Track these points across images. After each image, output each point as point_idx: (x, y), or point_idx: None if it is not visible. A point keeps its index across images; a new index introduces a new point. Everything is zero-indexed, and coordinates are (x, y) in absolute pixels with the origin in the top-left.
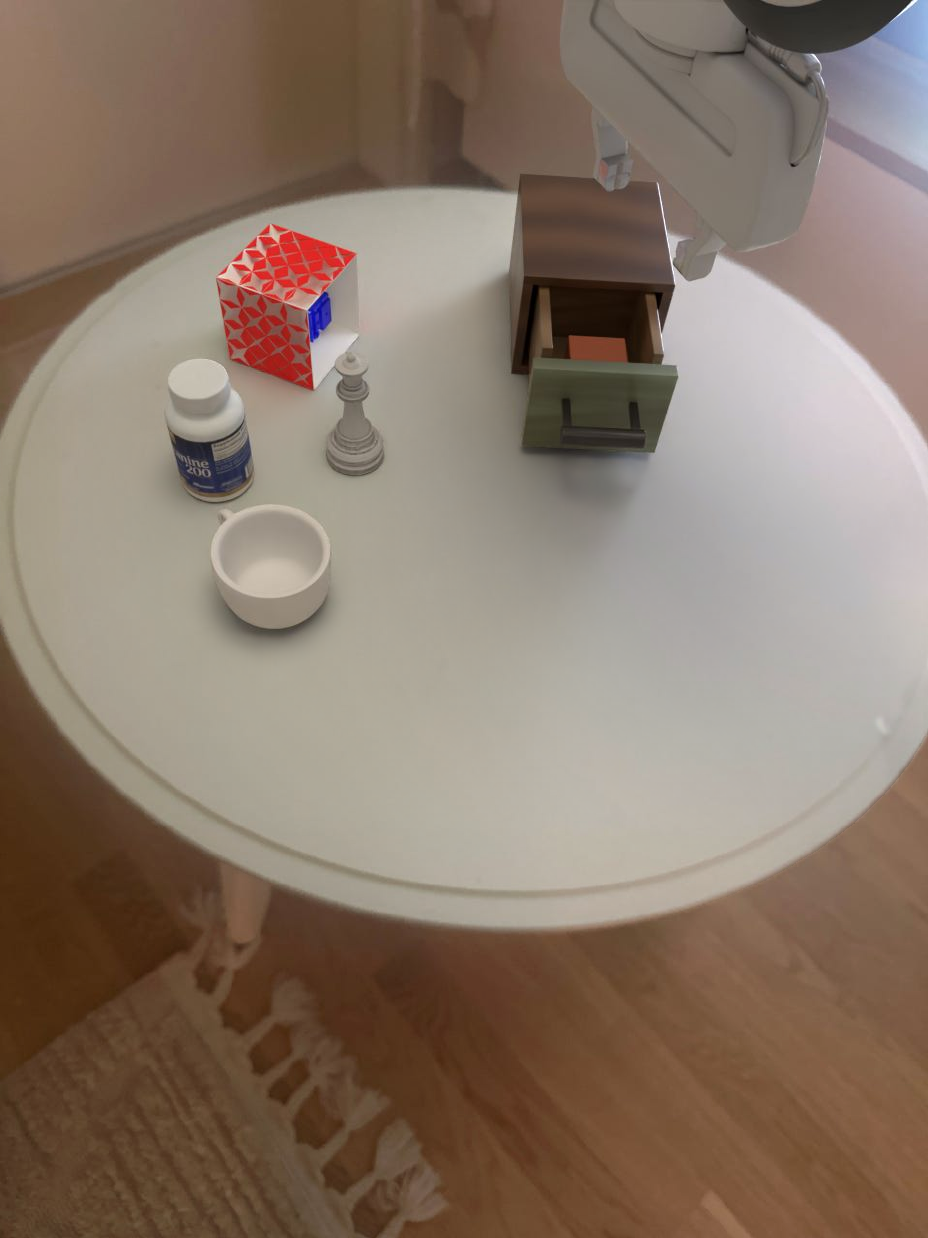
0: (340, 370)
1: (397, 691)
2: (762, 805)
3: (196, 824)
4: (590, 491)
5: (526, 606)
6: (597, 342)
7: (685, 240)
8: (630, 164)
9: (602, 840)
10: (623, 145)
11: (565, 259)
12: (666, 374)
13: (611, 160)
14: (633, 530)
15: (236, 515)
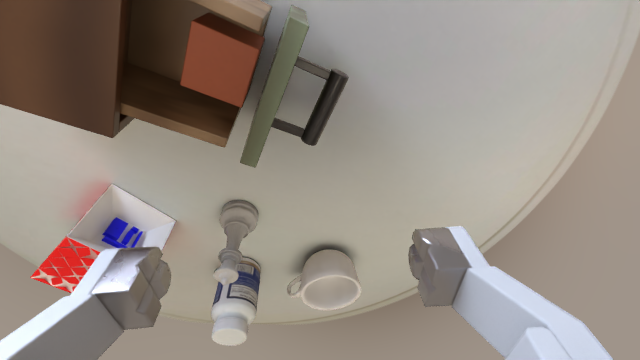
0: (232, 282)
1: (400, 231)
2: (581, 98)
3: (411, 293)
4: (318, 84)
5: (389, 164)
6: (196, 58)
7: (430, 298)
8: (135, 287)
9: (523, 181)
10: (79, 313)
11: (70, 76)
12: (301, 40)
13: (131, 320)
14: (368, 69)
15: (304, 301)
